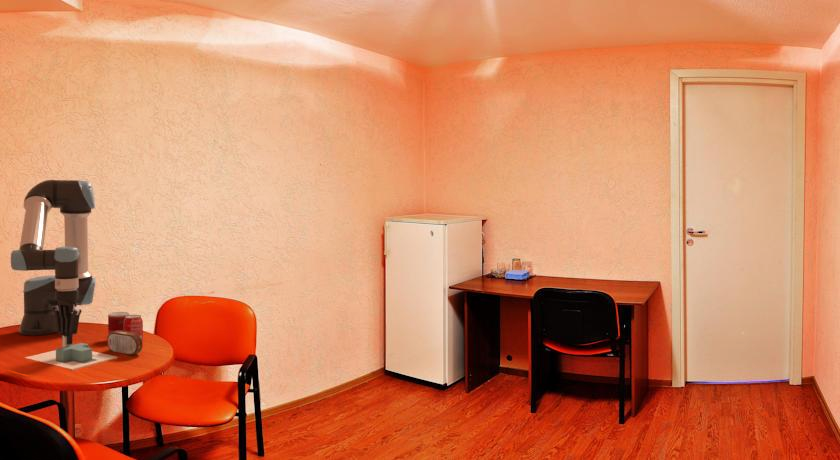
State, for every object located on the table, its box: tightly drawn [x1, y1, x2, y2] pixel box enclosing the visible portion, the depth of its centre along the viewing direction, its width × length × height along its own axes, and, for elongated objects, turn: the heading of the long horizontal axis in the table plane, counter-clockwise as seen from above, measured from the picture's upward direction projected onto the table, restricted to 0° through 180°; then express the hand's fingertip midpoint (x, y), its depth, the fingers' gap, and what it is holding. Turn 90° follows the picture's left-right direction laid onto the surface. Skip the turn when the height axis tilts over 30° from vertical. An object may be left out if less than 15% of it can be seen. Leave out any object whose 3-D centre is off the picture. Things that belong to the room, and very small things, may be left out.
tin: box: [106, 330, 143, 356], centre depth 238 cm, size 15×3×8 cm, turn 71°
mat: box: [24, 349, 118, 371], centre depth 229 cm, size 18×26×1 cm
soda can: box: [123, 314, 144, 343], centre depth 248 cm, size 7×7×12 cm
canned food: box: [107, 311, 130, 336], centre depth 256 cm, size 8×8×11 cm
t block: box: [55, 342, 93, 362], centre depth 227 cm, size 10×10×4 cm
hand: (67, 352), depth 230 cm, fingers closed
